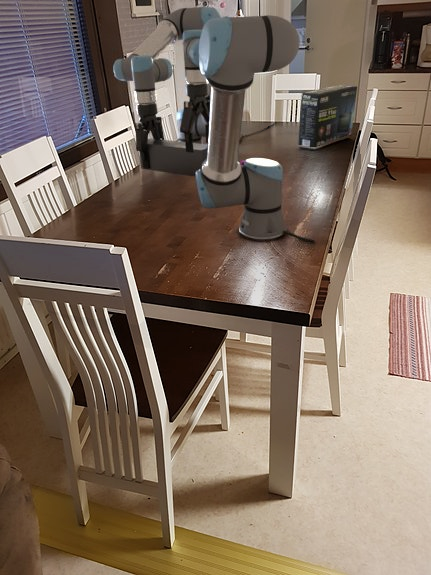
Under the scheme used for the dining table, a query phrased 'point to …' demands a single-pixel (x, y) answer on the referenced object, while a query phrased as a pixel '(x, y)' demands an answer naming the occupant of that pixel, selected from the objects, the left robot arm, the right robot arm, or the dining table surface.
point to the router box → (326, 115)
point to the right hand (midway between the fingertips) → (200, 147)
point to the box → (175, 157)
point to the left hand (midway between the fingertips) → (153, 165)
